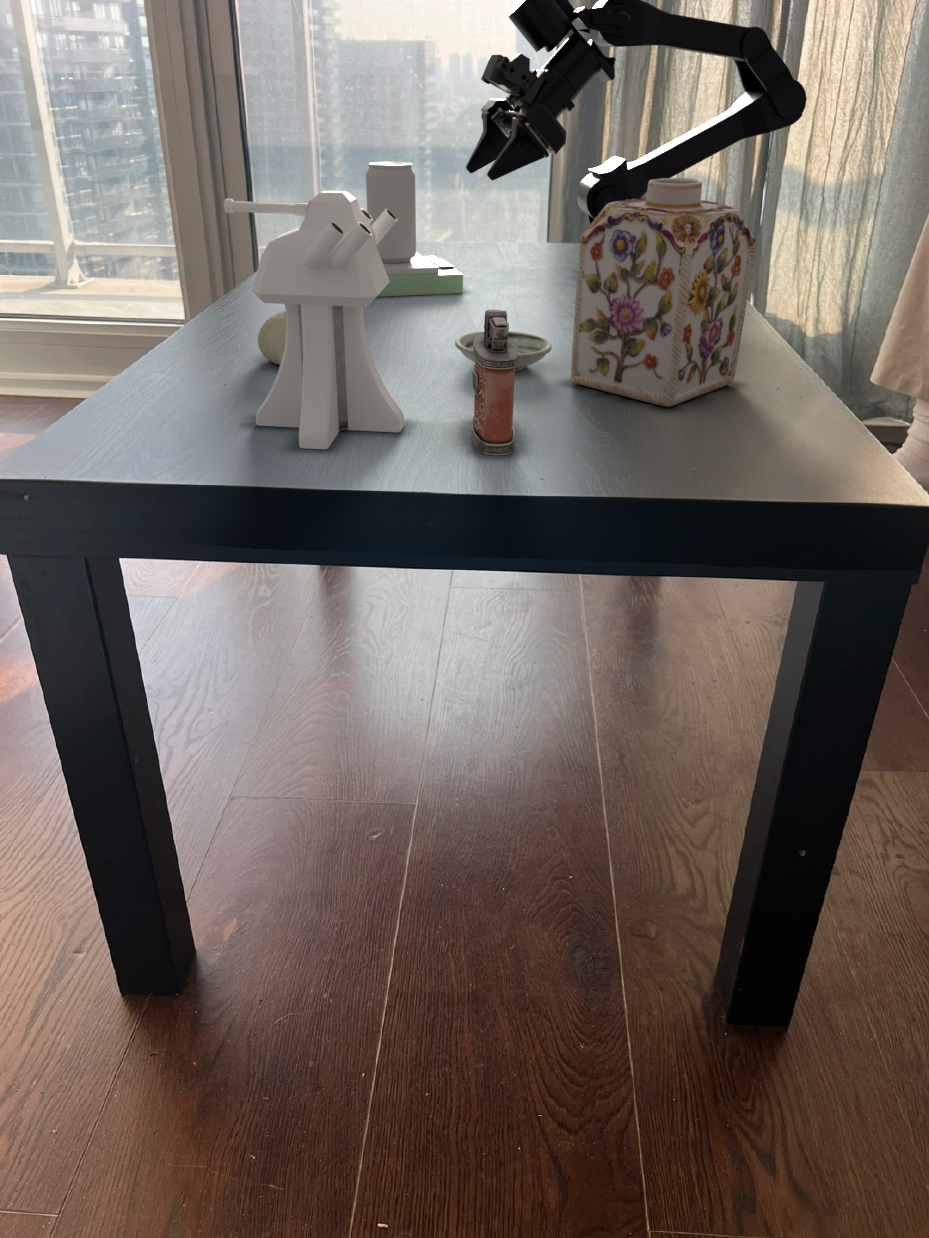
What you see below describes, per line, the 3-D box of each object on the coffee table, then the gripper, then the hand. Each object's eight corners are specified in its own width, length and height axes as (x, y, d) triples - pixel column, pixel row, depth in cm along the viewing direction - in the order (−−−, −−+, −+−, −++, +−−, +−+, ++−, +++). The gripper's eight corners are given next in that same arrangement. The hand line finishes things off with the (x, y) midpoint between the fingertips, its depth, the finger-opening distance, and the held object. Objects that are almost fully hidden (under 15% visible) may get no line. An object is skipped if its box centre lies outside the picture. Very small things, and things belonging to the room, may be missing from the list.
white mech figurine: (265, 399, 88) (247, 180, 79) (413, 406, 86) (410, 185, 78) (224, 444, 77) (196, 198, 68) (390, 452, 76) (384, 203, 67)
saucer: (534, 383, 93) (536, 358, 92) (440, 372, 96) (440, 347, 95) (561, 359, 101) (563, 335, 100) (473, 349, 104) (474, 326, 103)
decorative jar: (737, 384, 94) (769, 181, 85) (671, 410, 87) (698, 190, 78) (634, 361, 101) (653, 170, 92) (564, 383, 94) (578, 178, 85)
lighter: (467, 422, 83) (469, 301, 78) (506, 422, 83) (511, 301, 78) (476, 455, 76) (479, 324, 71) (519, 455, 76) (525, 324, 71)
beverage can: (425, 261, 131) (425, 163, 125) (387, 266, 128) (385, 165, 122) (397, 254, 136) (395, 159, 130) (359, 259, 132) (355, 161, 126)
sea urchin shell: (368, 332, 101) (342, 286, 94) (347, 400, 100) (320, 358, 92) (289, 324, 104) (258, 278, 97) (268, 390, 102) (234, 348, 95)
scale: (434, 273, 141) (434, 250, 139) (462, 293, 129) (463, 267, 128) (324, 277, 137) (323, 253, 135) (343, 298, 125) (342, 272, 124)
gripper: (497, 31, 132) (418, 122, 134) (548, 27, 116) (458, 131, 119) (548, 97, 138) (472, 184, 140) (603, 103, 122) (516, 200, 125)
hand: (478, 174), depth 131 cm, fingers open, 9 cm apart
